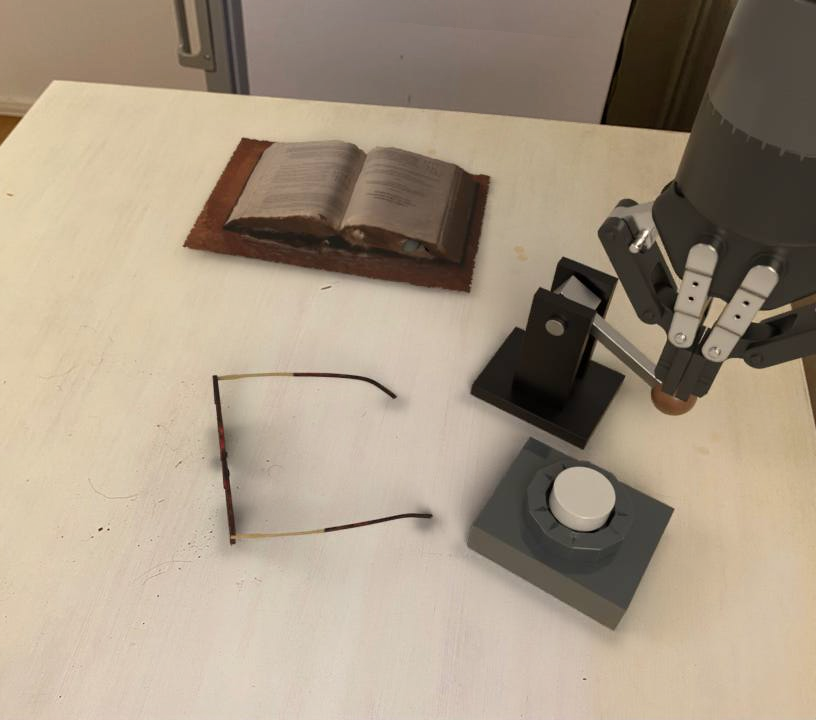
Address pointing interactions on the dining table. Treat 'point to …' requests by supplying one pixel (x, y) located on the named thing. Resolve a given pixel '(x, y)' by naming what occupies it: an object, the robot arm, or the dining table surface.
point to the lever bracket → (555, 362)
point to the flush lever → (625, 350)
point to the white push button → (582, 499)
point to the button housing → (569, 536)
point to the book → (346, 211)
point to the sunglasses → (227, 474)
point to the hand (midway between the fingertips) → (679, 386)
